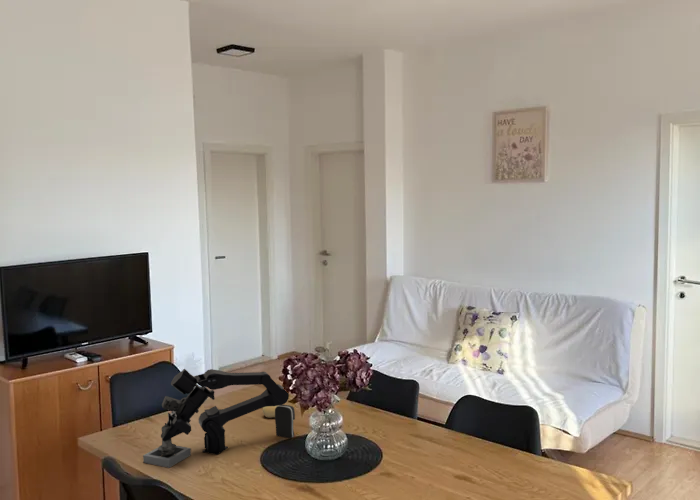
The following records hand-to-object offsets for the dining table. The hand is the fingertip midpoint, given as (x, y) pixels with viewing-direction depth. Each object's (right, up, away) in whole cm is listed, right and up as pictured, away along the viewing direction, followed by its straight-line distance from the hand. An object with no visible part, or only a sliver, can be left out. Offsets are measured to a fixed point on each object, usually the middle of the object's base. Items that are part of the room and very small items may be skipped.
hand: (162, 438), depth 220 cm
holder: (+1, -7, +1) cm, 7 cm away
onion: (+32, -3, +40) cm, 52 cm away
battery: (+40, -5, +19) cm, 45 cm away
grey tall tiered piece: (+2, -7, +1) cm, 7 cm away
